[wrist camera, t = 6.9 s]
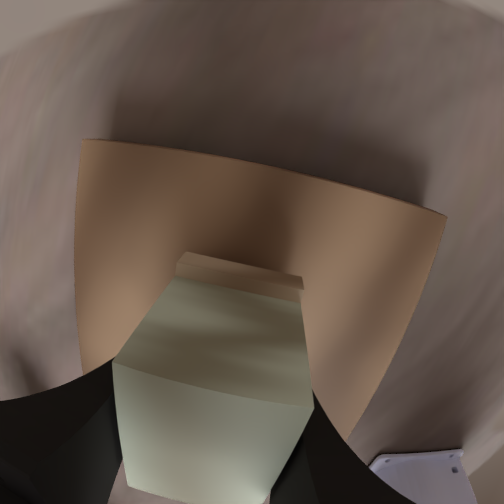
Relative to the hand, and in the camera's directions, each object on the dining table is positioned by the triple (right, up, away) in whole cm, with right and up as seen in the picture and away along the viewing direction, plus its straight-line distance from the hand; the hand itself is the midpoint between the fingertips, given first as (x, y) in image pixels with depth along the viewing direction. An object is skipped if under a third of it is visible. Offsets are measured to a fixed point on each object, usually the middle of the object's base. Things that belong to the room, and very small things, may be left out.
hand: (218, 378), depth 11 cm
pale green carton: (0, +1, +2) cm, 2 cm away
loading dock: (0, +2, +6) cm, 6 cm away
